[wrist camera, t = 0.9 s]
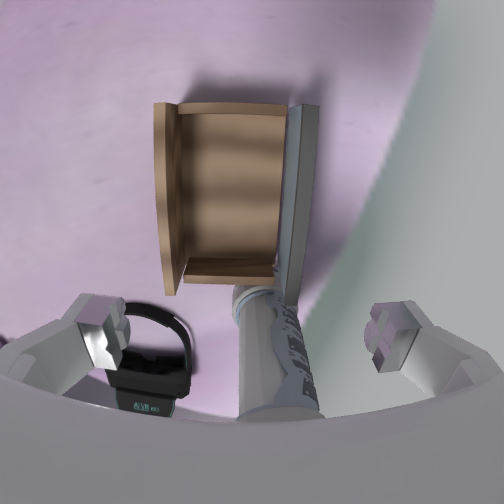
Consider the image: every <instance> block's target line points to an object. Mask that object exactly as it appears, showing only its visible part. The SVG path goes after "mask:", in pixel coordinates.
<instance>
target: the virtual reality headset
mask: <svg viewBox="0 0 504 504" xmlns="http://www.w3.org/2000/svg"><path fill="white" fill-rule="evenodd" d="M125 305H126V310H125V312H124V315H136V316H141V317H145V318H148V319H151V320H153V321H155V322H158V323H160V324H162V325H163V326H165V327H167V328H168V327H170V328H171V329H172V330H174V331H175V332H176V333H177V334H178V336H179V337H180V338H181V340H182V342H183V344H184V348H185V355H186V357H185V356H177V357H170V356H158V357H157V359H156V360H155V361H150V360H146V359H144V358H143V357H142V355H141V354H139V353H135V352H131V351H127V350H121V351H122V355H123V357H122V360H121V362H120V364H119V367H118V369H117V370H111V369H105V372H106V374H107V378H108V381H109V384H110V386H111V387H114V388H115V400H116V404H117V408H118V410H122V411H128V412H133V413H139V414H146V415H153V416H160V417H168V418H171V416H172V414H173V411H174V408H175V400H176V399H177V398H179V399H182V398H184V397H185V396H187V395H188V394H189V391H190V386H191V372H192V364H191V343H190V338H189V335H188V333H187V331H186V329H185V328H184V327H183V326H182V325H181V324H180V323H179V322H178V321H177V320H176V319H175V318H173V317H174V316H173V315H172V314H170V313H168V312H166V311H164V310H162V309H159V308H157V307H154V306H150V305H146V304H140V303H126V304H125Z"/></svg>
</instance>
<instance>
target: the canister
mask: <svg viewBox="0 0 504 504" xmlns="http://www.w3.org/2000/svg"><path fill="white" fill-rule="evenodd" d="M273 272H274V277H275V278H274V285H235V287H234V290H233V302H232V317H233V319H234V322H235V324H236V325H237V326H238V328H239V416H238V418H237V419H236V421H235V422H285V421H302V420H314V419H324V418H325V417H324V416H323V415H322V414H320V413H319V404H318V400H317V394H316V389H315V387H314V386H313V385H314V383H313V377H312V373H311V372H310V366H309V361H308V356H307V351H306V349H305V345H304V341H303V336H302V332H301V327H300V324H299V320H298V318H297V314H298V305H297V306H285V305H284V295H283V290H282V285H281V281H280V276H279V272H276V271H273Z"/></svg>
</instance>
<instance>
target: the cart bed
mask: <svg viewBox="0 0 504 504" xmlns="http://www.w3.org/2000/svg"><path fill="white" fill-rule="evenodd" d="M286 116H287V105H277V104H261V103H233V102H205V103H178V105H176V104H171V103H166V102H164V103H154V171H155V192H156V209H157V222H158V234H159V244H160V254H161V263H162V272H163V280H164V288H165V295H166V296H175V295H176V292H177V289H178V286H179V283H180V280H181V277H182V274H183V271H184V268H185V265H186V264H187V265H186V268H185V271H184V274H183V278H184V283H195V284H228V285H274V278H275V277H274V272H273V267H275V257H276V245H277V234H278V221H279V209H280V196H281V182H282V168H283V153H284V137H285V121H286Z"/></svg>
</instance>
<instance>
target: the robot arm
mask: <svg viewBox="0 0 504 504" xmlns="http://www.w3.org/2000/svg"><path fill="white" fill-rule="evenodd" d="M125 310H126V305H125V301H124V299H123V298H122V297H115V296H107V295H98V294H89V293H82V294H80V295H79V296H78V298H77V299H76V300H75V301H74V303H73V304H72V305H71V306H70V308H69V309H68V310H67V312H66V313H65V314H64V315H63V317H62V318H61V319H60V320H58V319H56V320H54V321H52V322H50V323H48V324H46V325H44V326H42V327H40V328H38V329H36V330H34V331H32V332H30V333H28V334H26V335H24V336H22V337H20V338H18V339H16V340H14V341H12V342H10V343H8V344H6V345H4V346H3V347H2V349H1V350H0V504H504V373H503V371H502V370H501V369H500V367H499V366H498V365H497V363H496V362H495V361H494V359H493V358H492V357H491V356H490V354H489V353H488V352H486V351H485V350H483V349H481V348H479V347H477V346H475V345H473V344H471V343H469V342H467V341H465V340H464V339H462V338H460V337H458V336H456V335H454V334H452V333H450V332H448V331H447V330H445V329H442V328H441V327H439V326H434V325H433V324H432V322H431V321H430V320H429V318H428V317H427V316H426V315H425V314H424V312H423V311H422V310H421V309H420V307H419V306H418V305H417V304H416V303H415V302H414V301H411V300H409V301H400V302H388V303H375V304H374V305H373V307H372V309H371V312H370V314H371V317H372V320H370V322H368V323H367V325H366V328H365V332H364V341H365V345H366V348H367V350H368V351H369V352H371V353H373V354H374V356H373V359H372V360H373V362H374V364H375V366H376V368H377V370H378V373H383V372H392V371H399V370H400V372H401V373H402V374H403V375H405V376H406V377H407V378H408V379H409V380H411V381H412V382H413V383H414V384H416V385H417V386H418V387H419V388H420V389H422V390H423V391H424V392H425V393H426V394H428V395H429V396H430V397H431V398H430V399H426V400H423V401H419V402H415V403H411V404H407V405H402V406H398V407H393V408H389V409H384V410H378V411H373V412H368V413H361V414H356V415H348V416H341V417H333V418H324V419H314V420H302V421H285V422H215V421H199V420H187V419H177V418H168V417H160V416H153V415H146V414H139V413H133V412H128V411H122V410H117V409H112V408H107V407H103V406H99V405H94V404H90V403H86V402H82V401H78V400H75V399H71V398H67V397H64V396H61V395H62V394H63V393H64V392H66V391H67V390H68V389H69V388H70V387H72V386H73V385H74V384H75V383H77V382H78V381H79V380H80V379H81V378H83V377H84V376H85V375H86V374H88V373H89V372H90V371H91V370H93V369H94V367H97V368H104V369H111V370H117V369H118V367H119V364H120V362H121V360H122V357H123V355H122V351H121V350H123V349H124V348H126V347H127V345H128V343H129V340H130V333H131V331H130V323H129V319H128V318H127V317H126V316H125V315H124V312H125Z"/></svg>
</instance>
